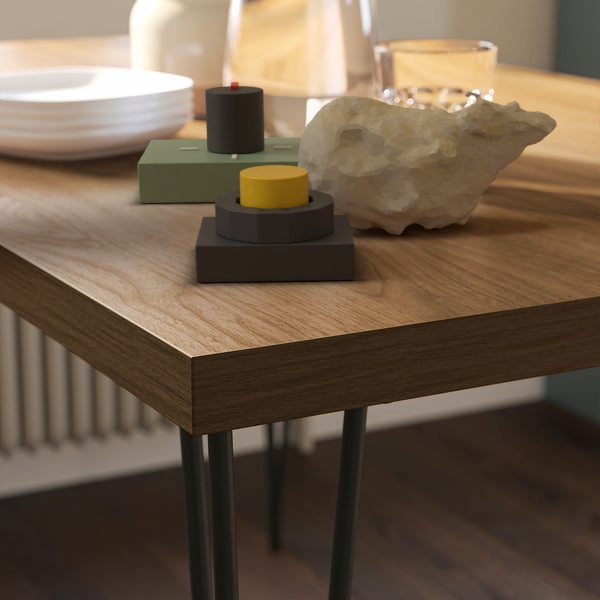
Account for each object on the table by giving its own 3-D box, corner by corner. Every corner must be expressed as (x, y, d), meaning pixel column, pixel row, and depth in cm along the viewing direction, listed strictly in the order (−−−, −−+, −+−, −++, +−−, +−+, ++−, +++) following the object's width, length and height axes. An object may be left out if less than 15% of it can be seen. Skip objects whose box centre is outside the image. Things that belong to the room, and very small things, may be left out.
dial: (264, 153, 88) (263, 89, 87) (205, 154, 88) (203, 90, 87) (264, 143, 92) (263, 81, 91) (208, 144, 92) (206, 82, 91)
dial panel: (139, 203, 86) (137, 160, 85) (153, 176, 96) (151, 137, 95) (330, 200, 87) (329, 158, 86) (324, 173, 96) (324, 135, 95)
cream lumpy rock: (253, 258, 79) (362, 142, 67) (253, 166, 82) (356, 40, 70) (446, 300, 85) (576, 200, 73) (438, 213, 89) (562, 104, 77)
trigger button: (239, 214, 67) (238, 179, 67) (241, 198, 71) (240, 165, 70) (309, 213, 67) (309, 177, 67) (307, 197, 71) (307, 164, 71)
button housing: (196, 282, 67) (193, 214, 66) (203, 250, 74) (201, 187, 72) (354, 280, 67) (354, 212, 66) (347, 248, 74) (347, 185, 73)
